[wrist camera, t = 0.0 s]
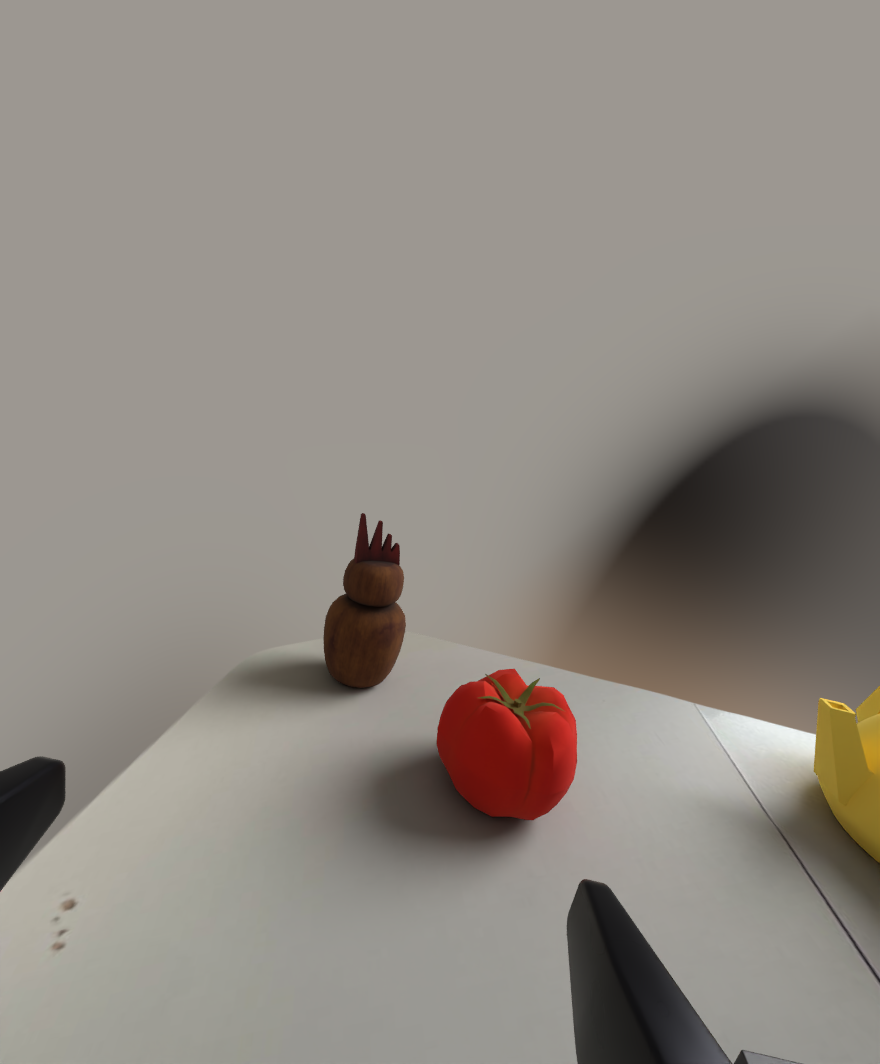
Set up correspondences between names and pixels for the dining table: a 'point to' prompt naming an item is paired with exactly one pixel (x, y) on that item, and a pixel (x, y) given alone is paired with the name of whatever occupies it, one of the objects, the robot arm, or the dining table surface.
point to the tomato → (508, 745)
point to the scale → (759, 1059)
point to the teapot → (851, 767)
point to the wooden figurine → (366, 614)
